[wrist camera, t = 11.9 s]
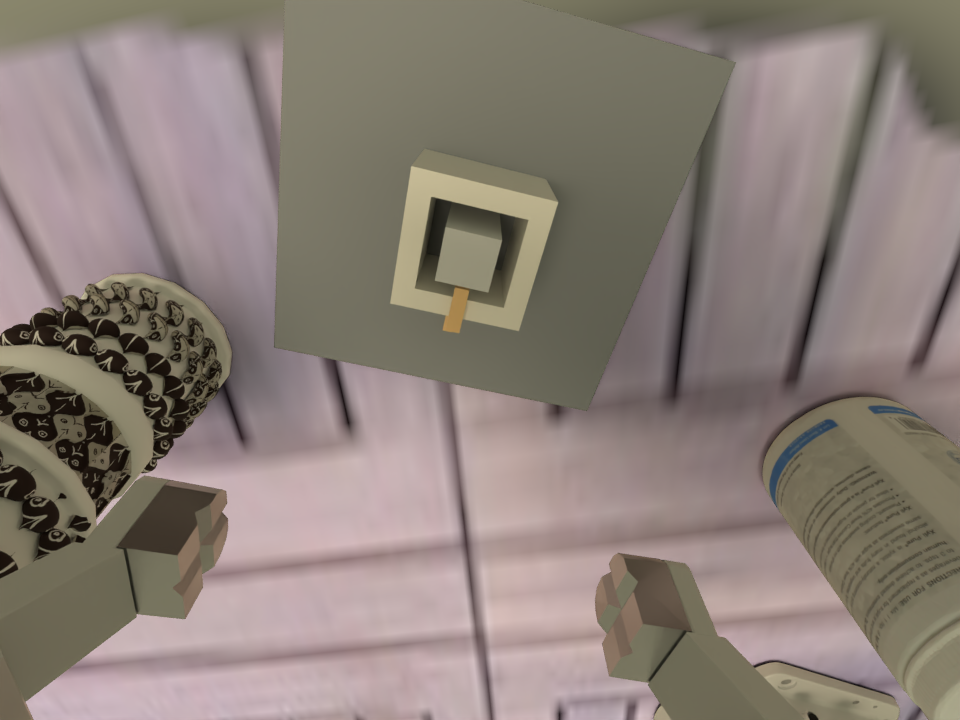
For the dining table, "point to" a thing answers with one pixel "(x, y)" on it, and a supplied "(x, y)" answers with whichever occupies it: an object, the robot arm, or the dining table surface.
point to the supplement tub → (881, 532)
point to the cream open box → (485, 191)
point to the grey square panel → (486, 139)
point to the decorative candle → (97, 404)
